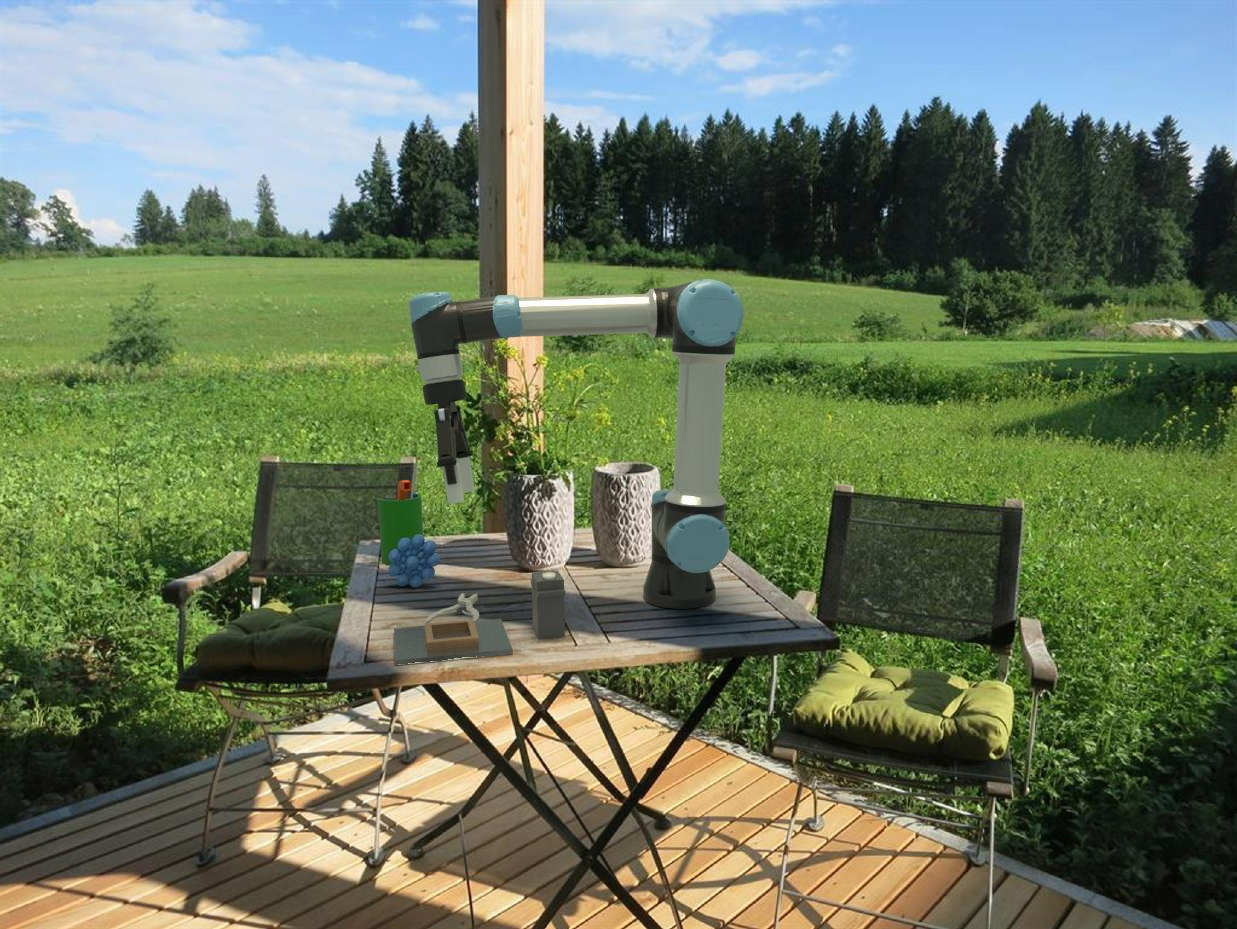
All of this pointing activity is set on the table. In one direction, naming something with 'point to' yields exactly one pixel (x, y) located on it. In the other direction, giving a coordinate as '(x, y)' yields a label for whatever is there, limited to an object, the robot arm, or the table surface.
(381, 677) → the table surface
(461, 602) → the pliers
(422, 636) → the plate
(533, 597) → the servo
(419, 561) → the grapes
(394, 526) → the green pencil holder
